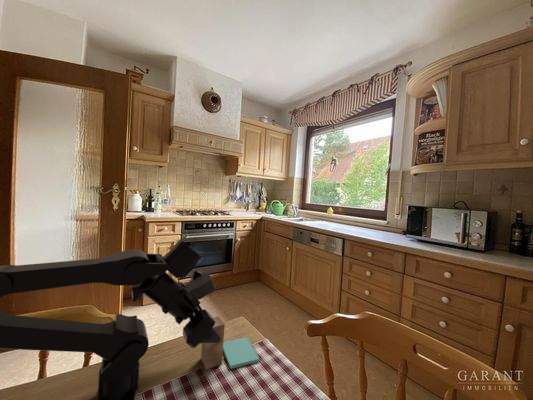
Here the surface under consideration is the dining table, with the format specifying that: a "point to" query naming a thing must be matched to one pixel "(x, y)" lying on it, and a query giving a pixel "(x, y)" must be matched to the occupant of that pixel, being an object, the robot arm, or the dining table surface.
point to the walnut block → (213, 347)
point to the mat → (239, 353)
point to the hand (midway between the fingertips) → (213, 329)
